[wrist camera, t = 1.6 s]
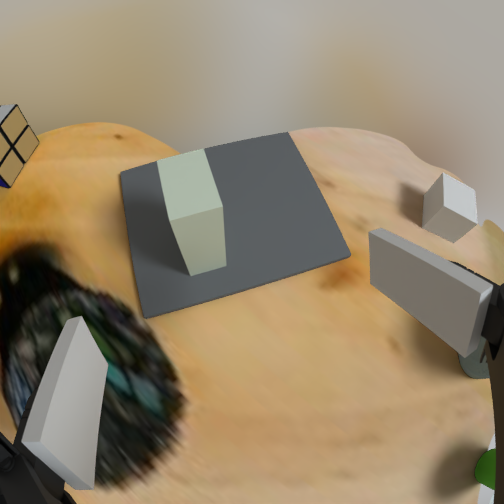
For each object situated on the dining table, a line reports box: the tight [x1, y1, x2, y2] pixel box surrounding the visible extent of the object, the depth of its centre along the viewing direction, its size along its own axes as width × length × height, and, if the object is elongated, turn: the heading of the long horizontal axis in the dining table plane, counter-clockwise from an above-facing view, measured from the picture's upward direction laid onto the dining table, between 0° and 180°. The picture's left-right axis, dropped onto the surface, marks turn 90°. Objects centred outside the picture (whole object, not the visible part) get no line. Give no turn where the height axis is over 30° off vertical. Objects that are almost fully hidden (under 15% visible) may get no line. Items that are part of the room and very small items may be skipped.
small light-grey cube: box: [422, 173, 477, 243], centre depth 36 cm, size 6×6×6 cm
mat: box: [121, 132, 351, 319], centre depth 36 cm, size 24×20×1 cm
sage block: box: [157, 149, 226, 276], centre depth 28 cm, size 4×6×12 cm, turn 19°
